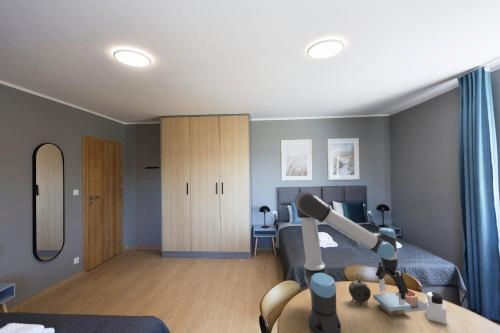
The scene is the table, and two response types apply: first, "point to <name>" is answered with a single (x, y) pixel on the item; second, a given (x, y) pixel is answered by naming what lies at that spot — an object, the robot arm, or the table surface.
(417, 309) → the placemat
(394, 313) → the cork riser
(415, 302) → the bowl
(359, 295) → the alarm clock
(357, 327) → the table surface
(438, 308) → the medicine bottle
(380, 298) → the cover board
